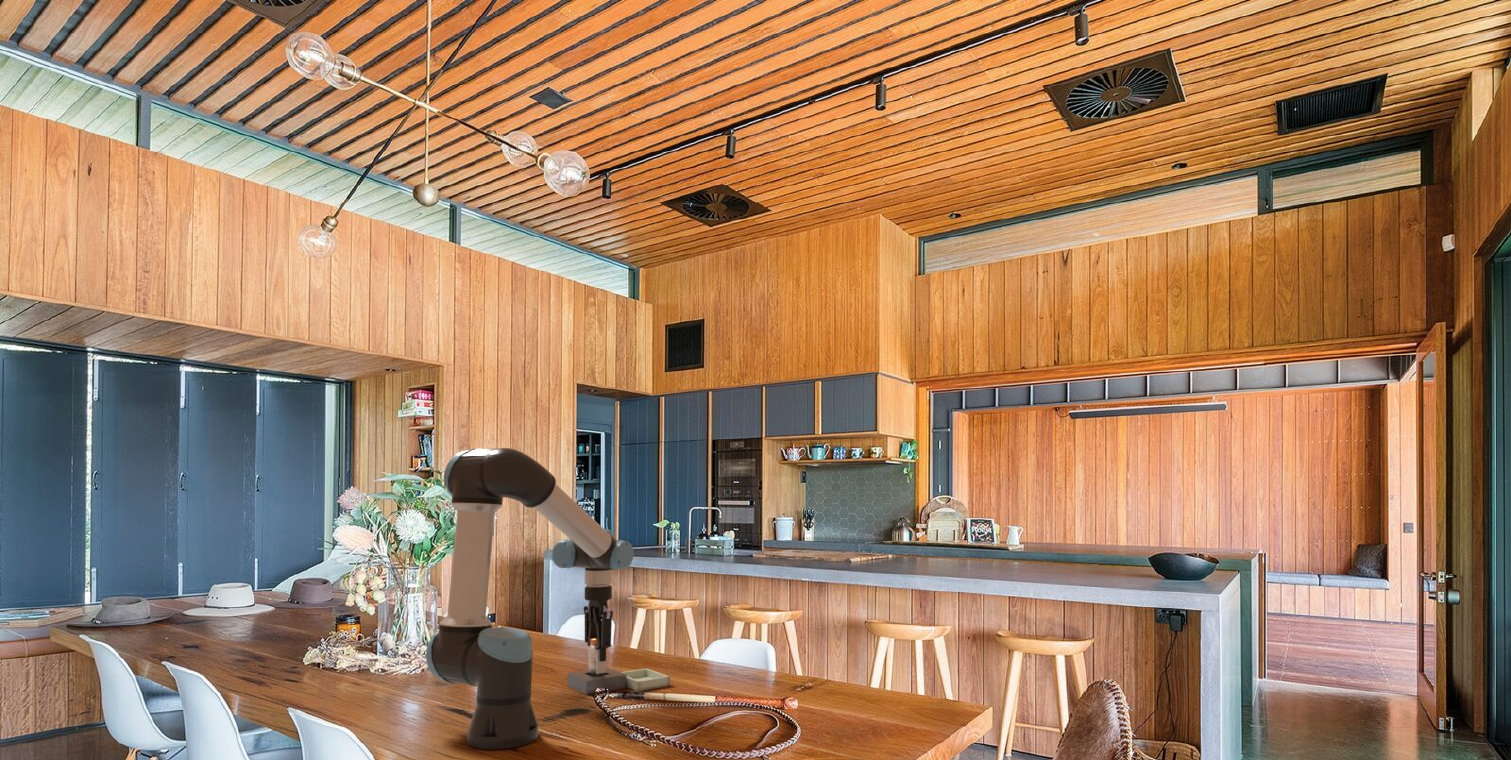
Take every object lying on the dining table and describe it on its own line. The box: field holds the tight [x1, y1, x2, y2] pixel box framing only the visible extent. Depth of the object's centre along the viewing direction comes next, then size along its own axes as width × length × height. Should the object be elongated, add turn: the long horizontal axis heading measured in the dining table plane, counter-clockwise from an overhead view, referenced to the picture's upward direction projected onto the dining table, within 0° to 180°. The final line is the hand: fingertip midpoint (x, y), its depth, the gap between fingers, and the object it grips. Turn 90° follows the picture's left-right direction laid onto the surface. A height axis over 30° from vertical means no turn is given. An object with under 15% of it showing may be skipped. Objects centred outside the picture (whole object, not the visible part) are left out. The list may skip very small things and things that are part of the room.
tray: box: [621, 668, 671, 692], centre depth 236 cm, size 10×13×2 cm
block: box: [566, 666, 628, 695], centre depth 234 cm, size 12×12×4 cm
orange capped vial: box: [590, 637, 604, 677], centre depth 234 cm, size 4×4×13 cm
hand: (597, 671), depth 234 cm, fingers closed on orange capped vial, 4 cm apart
